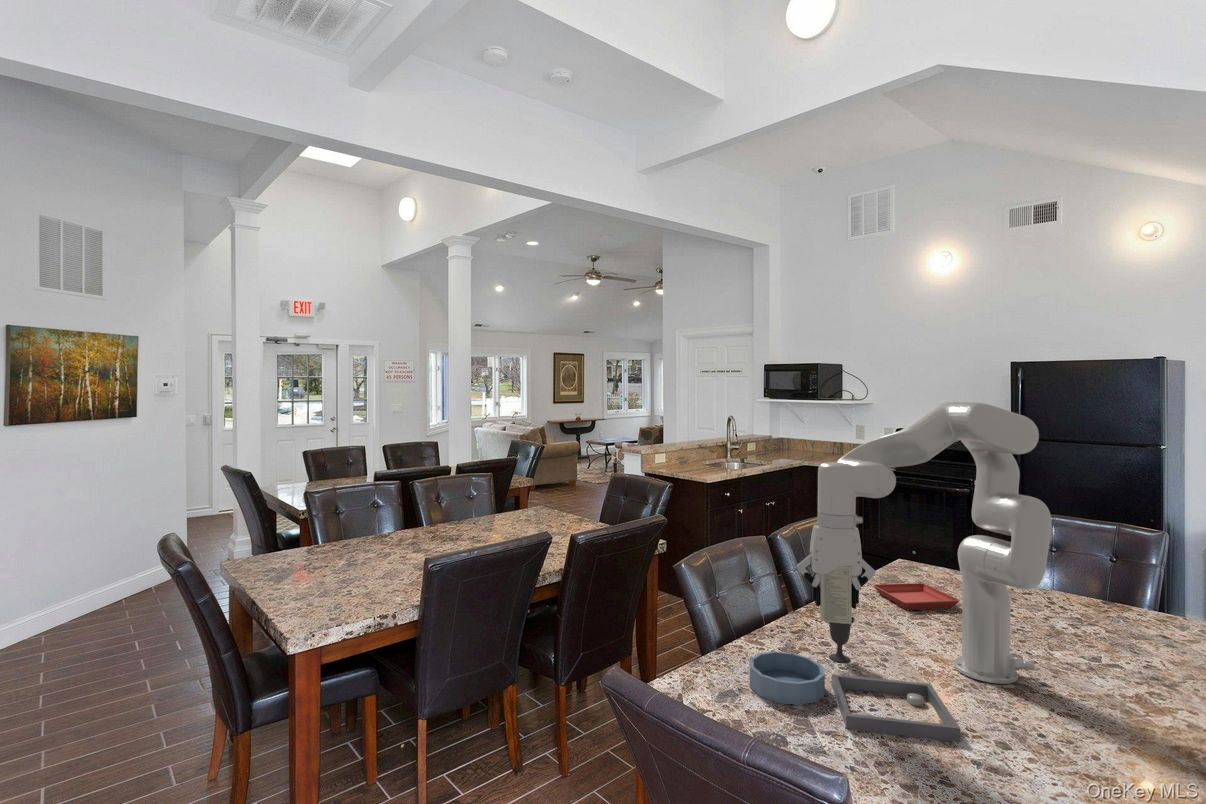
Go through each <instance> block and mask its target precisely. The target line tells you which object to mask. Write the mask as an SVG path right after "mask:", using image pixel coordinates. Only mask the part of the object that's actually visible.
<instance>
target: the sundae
mask: <svg viewBox="0 0 1206 804" xmlns="http://www.w3.org/2000/svg"><path fill="white" fill-rule="evenodd" d="M855 619H856V618H855V617H854V616H852V624H853V623H854V622H855ZM852 624H843V623H835V622H828V626H829V634H830V638H831V640H832V641H833V642H834V644H835V645H836V646H837V647H836V652H835V653H830V654H829V656H828V658H829V659H830V661H832V660H833V662H835V663H839V664H845V663H846V664H848V663H849V662H851V658H850V657H849V656H847V655H845V654H844V653H843V646H844V645H845V644H846V645H847V643H848V641H849V639H850V634H851V628H852Z"/></svg>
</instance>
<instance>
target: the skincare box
mask: <svg viewBox="0 0 1206 804" xmlns="http://www.w3.org/2000/svg"><path fill="white" fill-rule="evenodd" d="M851 584H852V582H851V567H845V566H839V567H838V568H836V569H835V570H833V571H831V572H829V573H827V574H821V575H820V582H819V586H820V589H821V591H820V606H819V617H820V621H821V622H825V623H826V622H827V623H829V622H835V623H843V624H851V625H852V624H853V623H852V617H853V616H852V611H853V608H852V601H851Z"/></svg>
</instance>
